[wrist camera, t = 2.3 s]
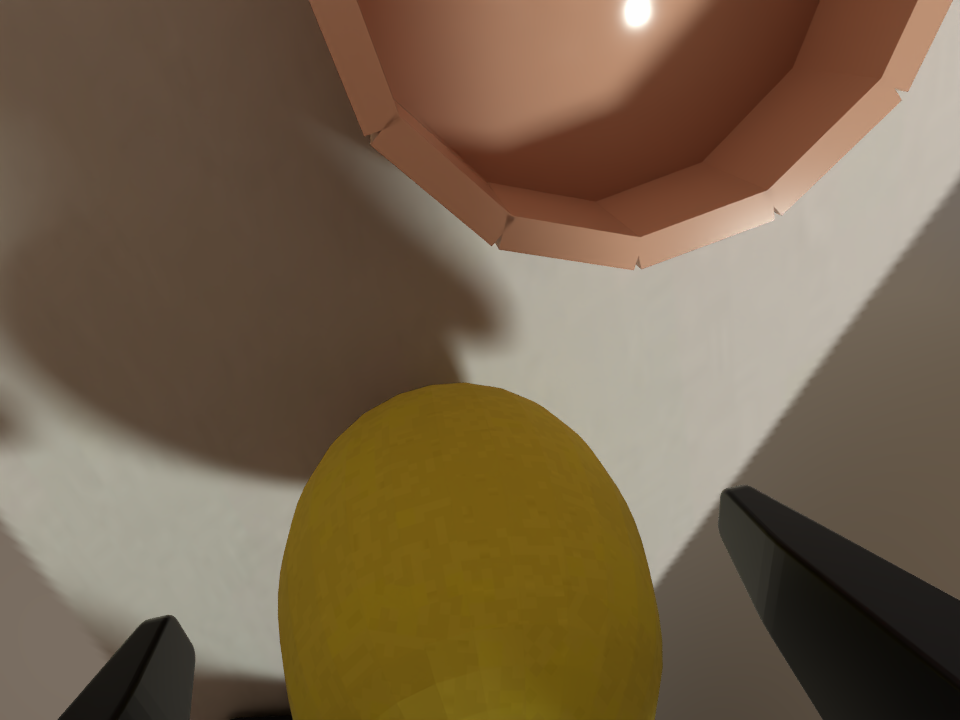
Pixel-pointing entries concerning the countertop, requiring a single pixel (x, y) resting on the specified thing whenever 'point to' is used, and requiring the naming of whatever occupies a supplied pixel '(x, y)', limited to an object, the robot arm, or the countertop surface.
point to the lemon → (466, 571)
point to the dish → (621, 109)
